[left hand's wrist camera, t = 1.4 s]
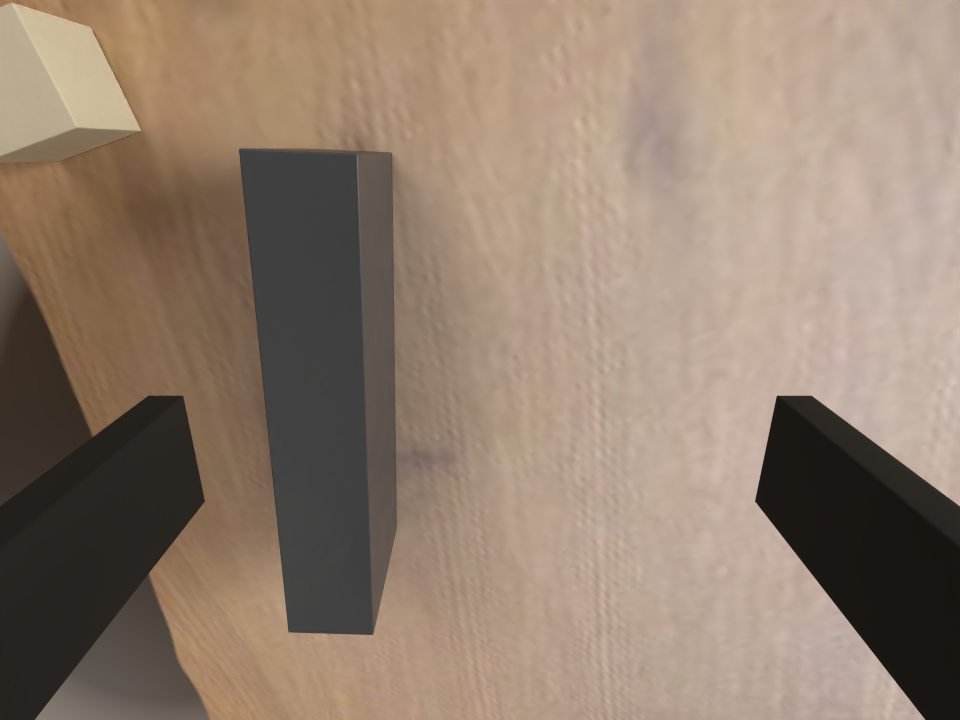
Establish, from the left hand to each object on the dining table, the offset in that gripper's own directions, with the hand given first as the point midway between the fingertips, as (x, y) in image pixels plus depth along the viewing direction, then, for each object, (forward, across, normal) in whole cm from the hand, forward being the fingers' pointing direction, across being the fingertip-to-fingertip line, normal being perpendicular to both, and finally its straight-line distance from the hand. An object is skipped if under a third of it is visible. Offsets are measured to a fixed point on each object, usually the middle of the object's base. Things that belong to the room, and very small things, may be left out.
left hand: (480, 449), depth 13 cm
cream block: (+20, -21, +9) cm, 31 cm away
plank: (+20, -7, -6) cm, 23 cm away
